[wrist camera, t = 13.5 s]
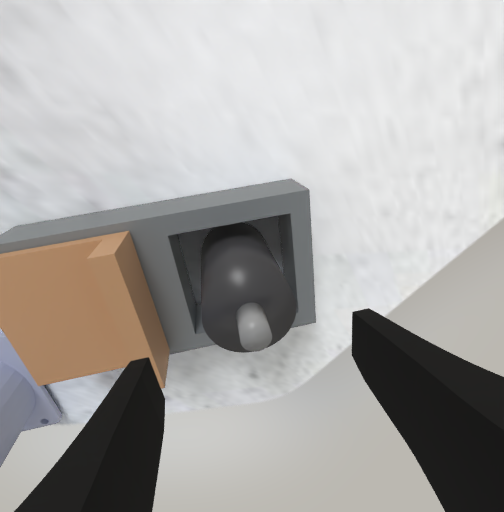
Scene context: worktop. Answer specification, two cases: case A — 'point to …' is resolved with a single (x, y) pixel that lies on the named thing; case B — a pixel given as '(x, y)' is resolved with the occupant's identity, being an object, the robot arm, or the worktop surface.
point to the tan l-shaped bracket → (80, 309)
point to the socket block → (170, 254)
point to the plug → (243, 290)
